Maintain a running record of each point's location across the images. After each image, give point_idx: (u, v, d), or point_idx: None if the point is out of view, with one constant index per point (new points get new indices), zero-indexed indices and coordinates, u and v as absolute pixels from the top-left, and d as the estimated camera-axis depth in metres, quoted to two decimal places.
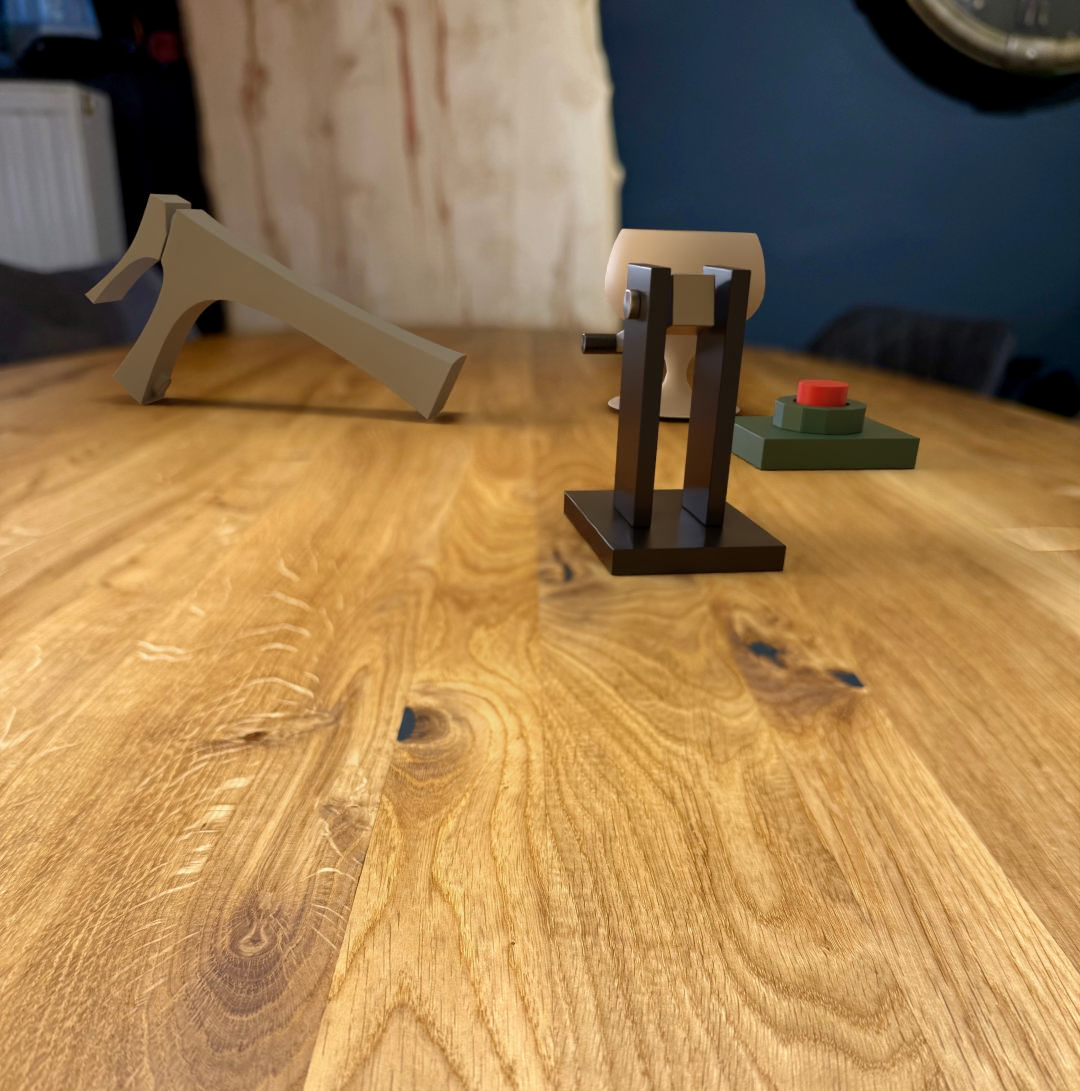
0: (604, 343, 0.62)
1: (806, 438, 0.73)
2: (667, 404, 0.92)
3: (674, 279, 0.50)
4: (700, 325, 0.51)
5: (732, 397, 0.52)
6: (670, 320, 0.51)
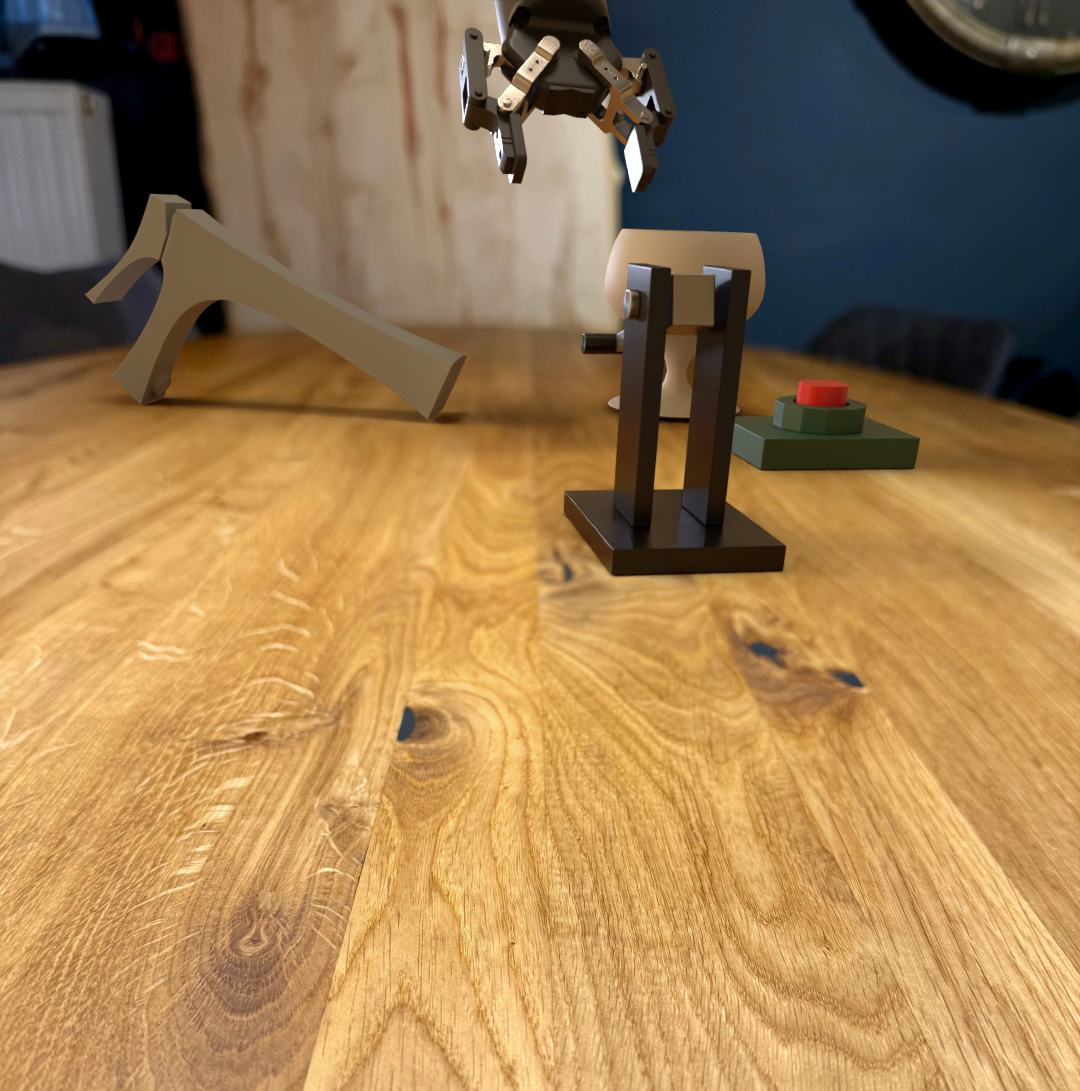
0: (604, 343, 0.62)
1: (806, 438, 0.73)
2: (667, 404, 0.92)
3: (674, 279, 0.50)
4: (700, 325, 0.51)
5: (732, 397, 0.52)
6: (670, 320, 0.51)
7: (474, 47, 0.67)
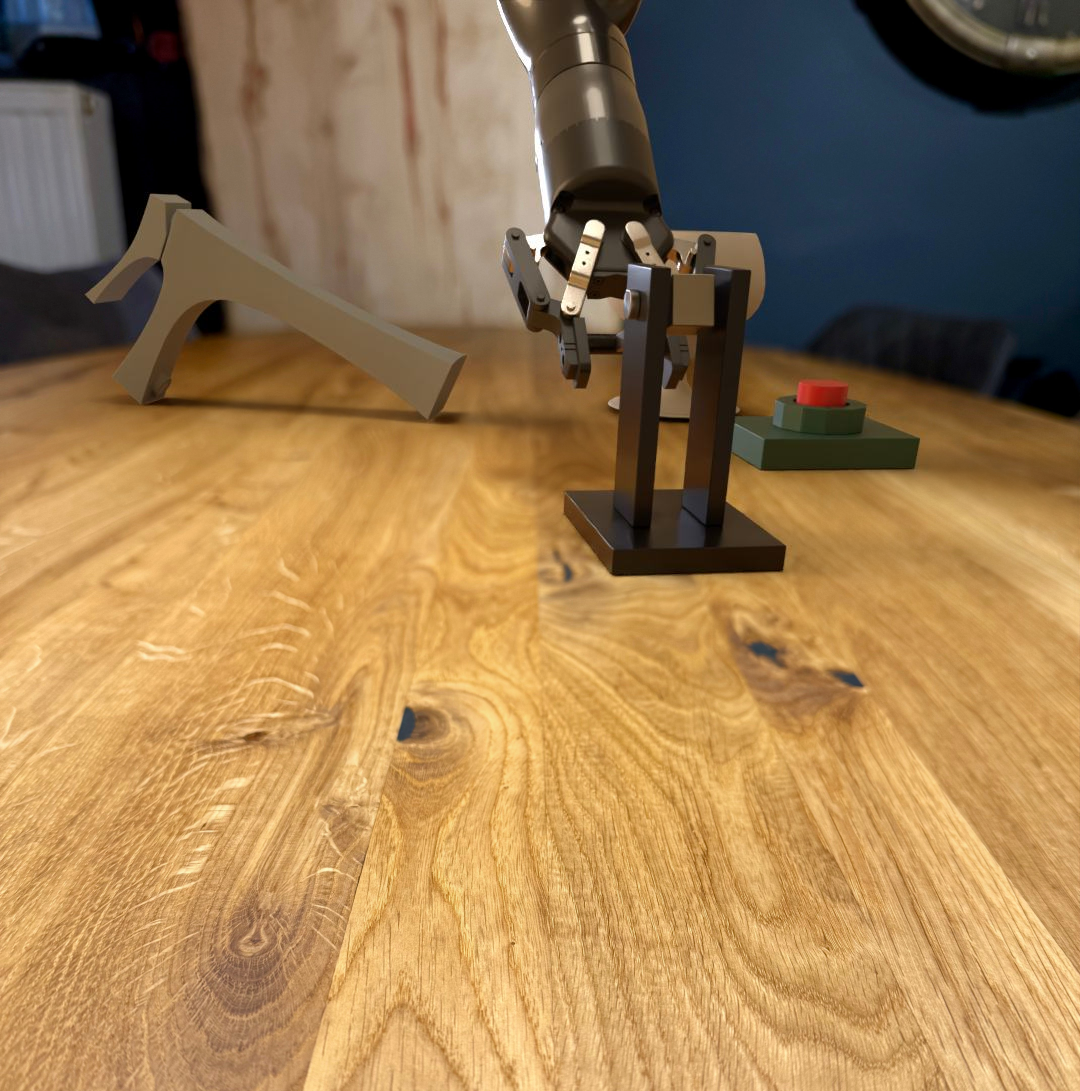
0: (604, 343, 0.62)
1: (806, 438, 0.73)
2: (667, 404, 0.92)
3: (674, 279, 0.50)
4: (700, 325, 0.51)
5: (732, 397, 0.52)
6: (670, 320, 0.51)
7: (520, 248, 0.63)
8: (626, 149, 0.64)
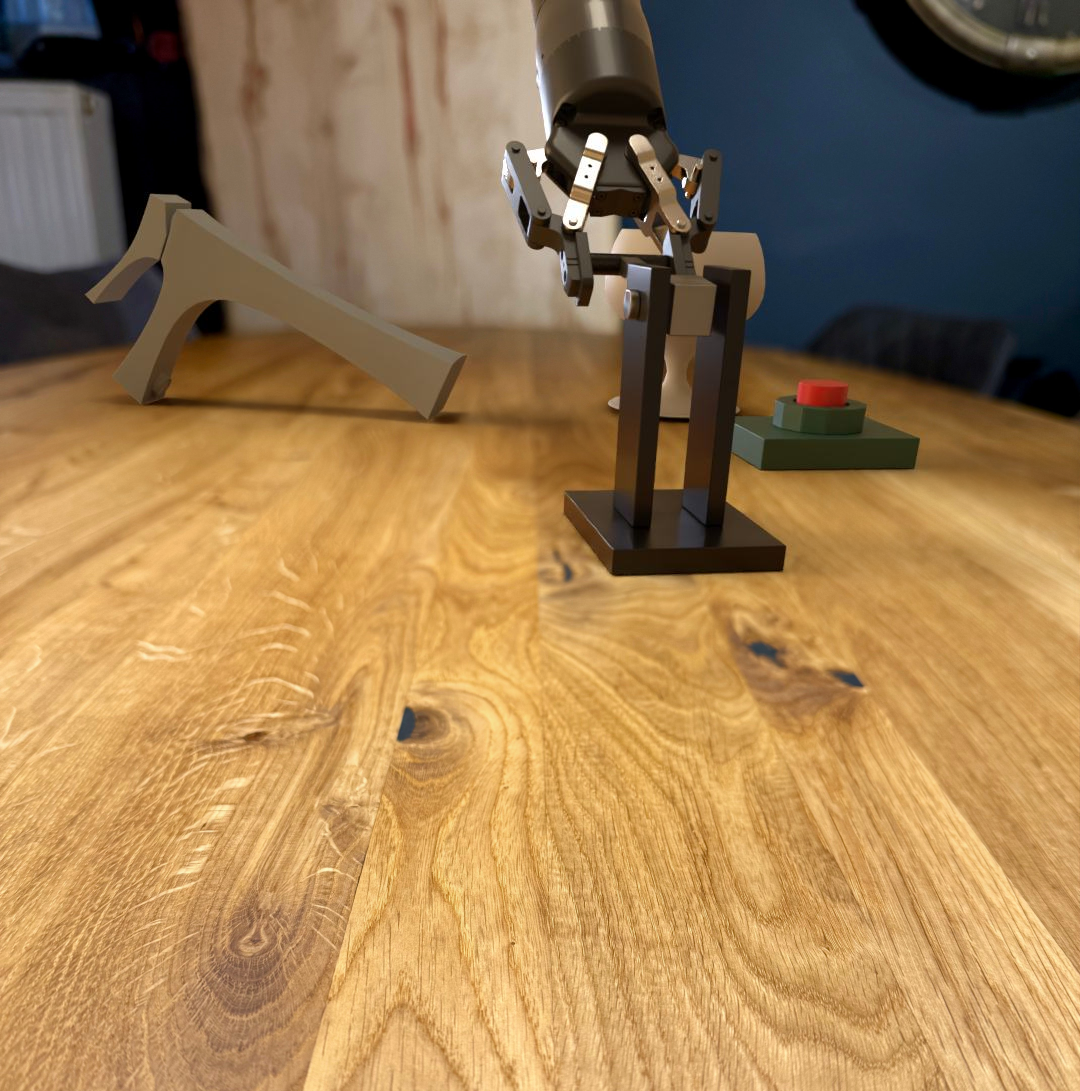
0: (607, 266, 0.61)
1: (806, 438, 0.73)
2: (667, 404, 0.92)
3: (675, 291, 0.50)
4: (696, 335, 0.51)
5: (732, 397, 0.52)
6: (667, 329, 0.51)
7: (521, 162, 0.61)
8: (630, 59, 0.62)
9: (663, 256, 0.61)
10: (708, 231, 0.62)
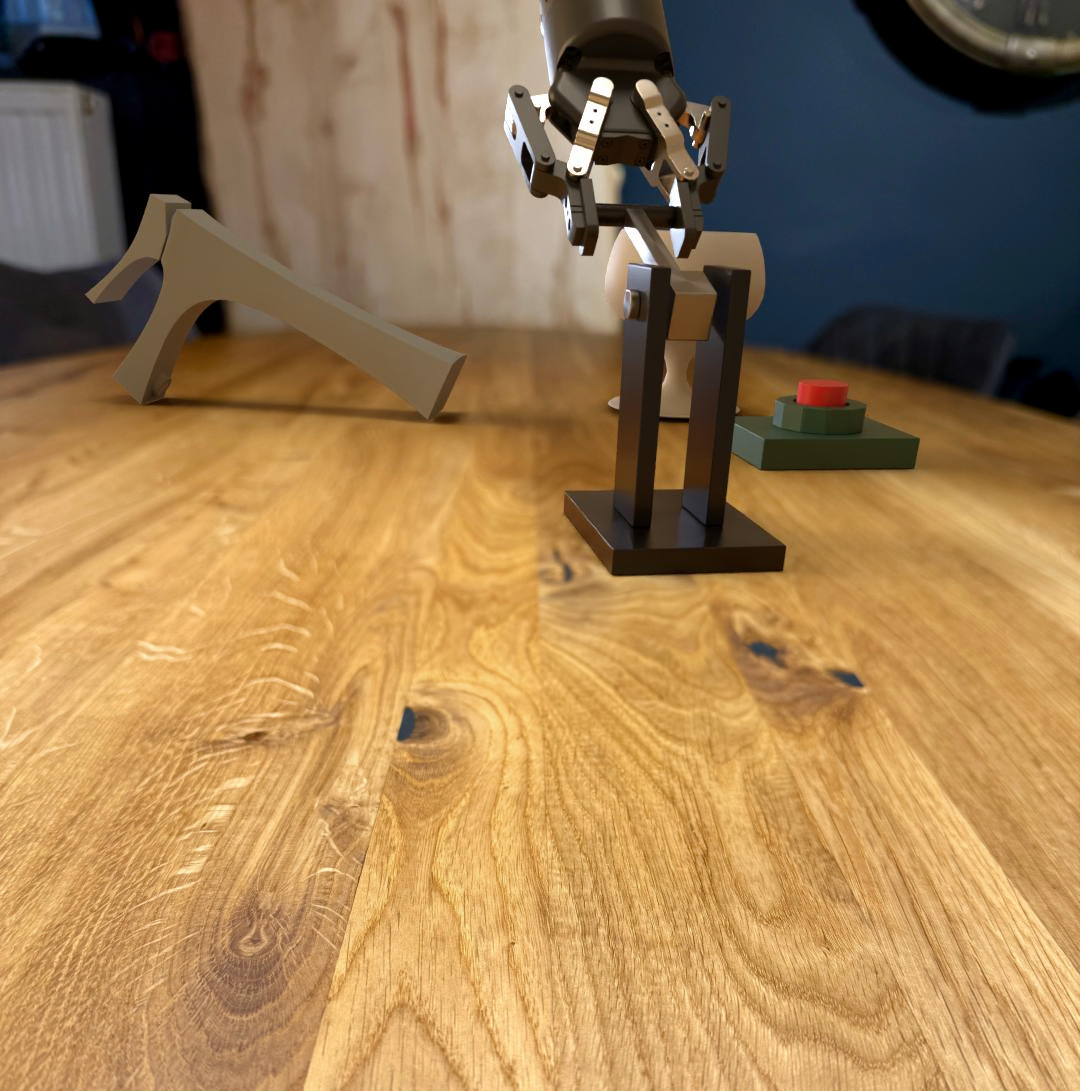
0: (612, 219, 0.59)
1: (806, 438, 0.73)
2: (667, 404, 0.92)
3: (676, 299, 0.50)
4: (694, 340, 0.52)
5: (732, 397, 0.52)
6: (666, 333, 0.51)
7: (524, 106, 0.59)
8: (636, 1, 0.60)
9: (670, 208, 0.60)
10: (716, 179, 0.61)
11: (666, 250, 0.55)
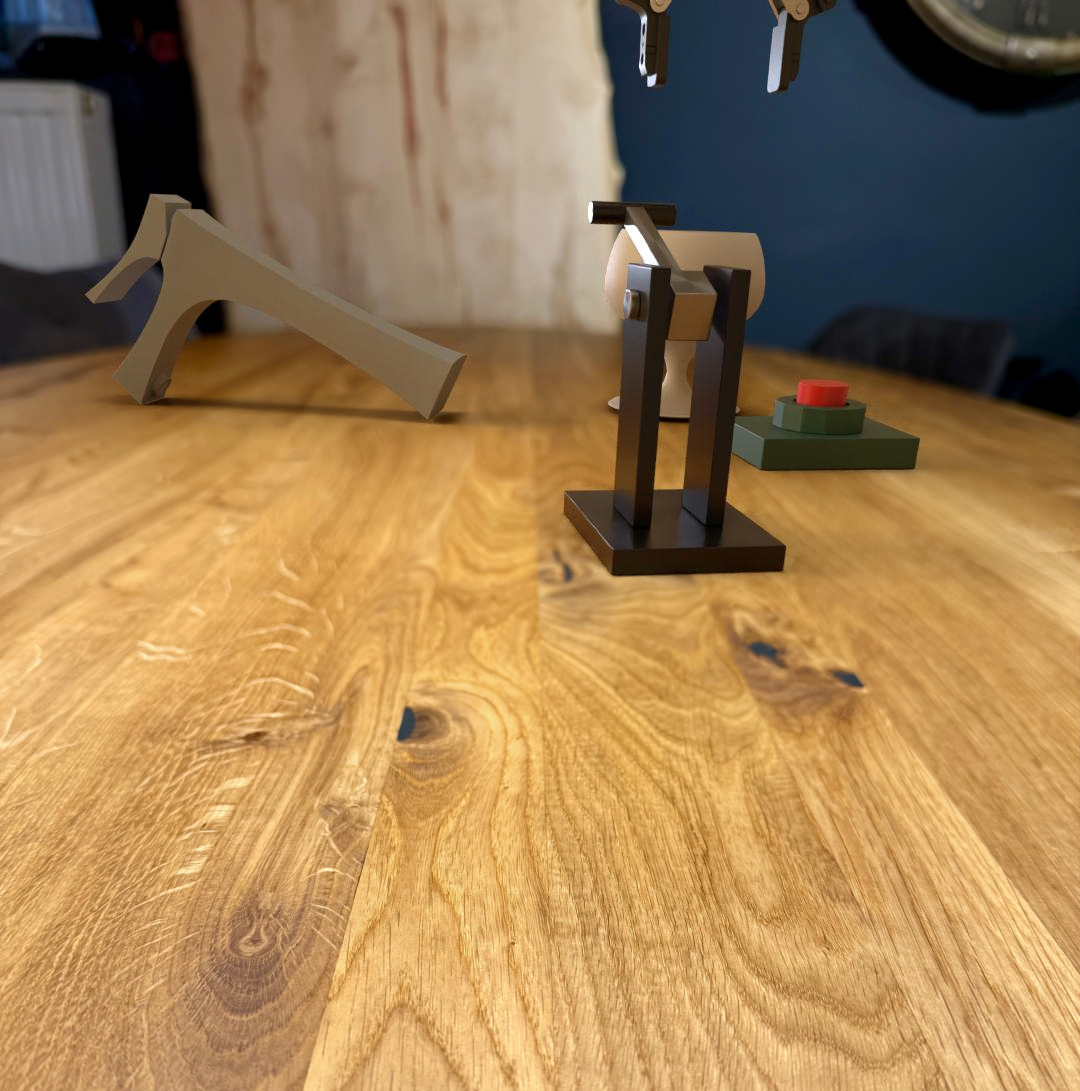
0: (612, 217, 0.59)
1: (806, 438, 0.73)
2: (667, 404, 0.92)
3: (676, 299, 0.50)
4: (694, 340, 0.52)
5: (732, 397, 0.52)
6: None
7: None
8: None
9: (671, 206, 0.60)
10: (826, 10, 0.66)
11: (666, 249, 0.55)
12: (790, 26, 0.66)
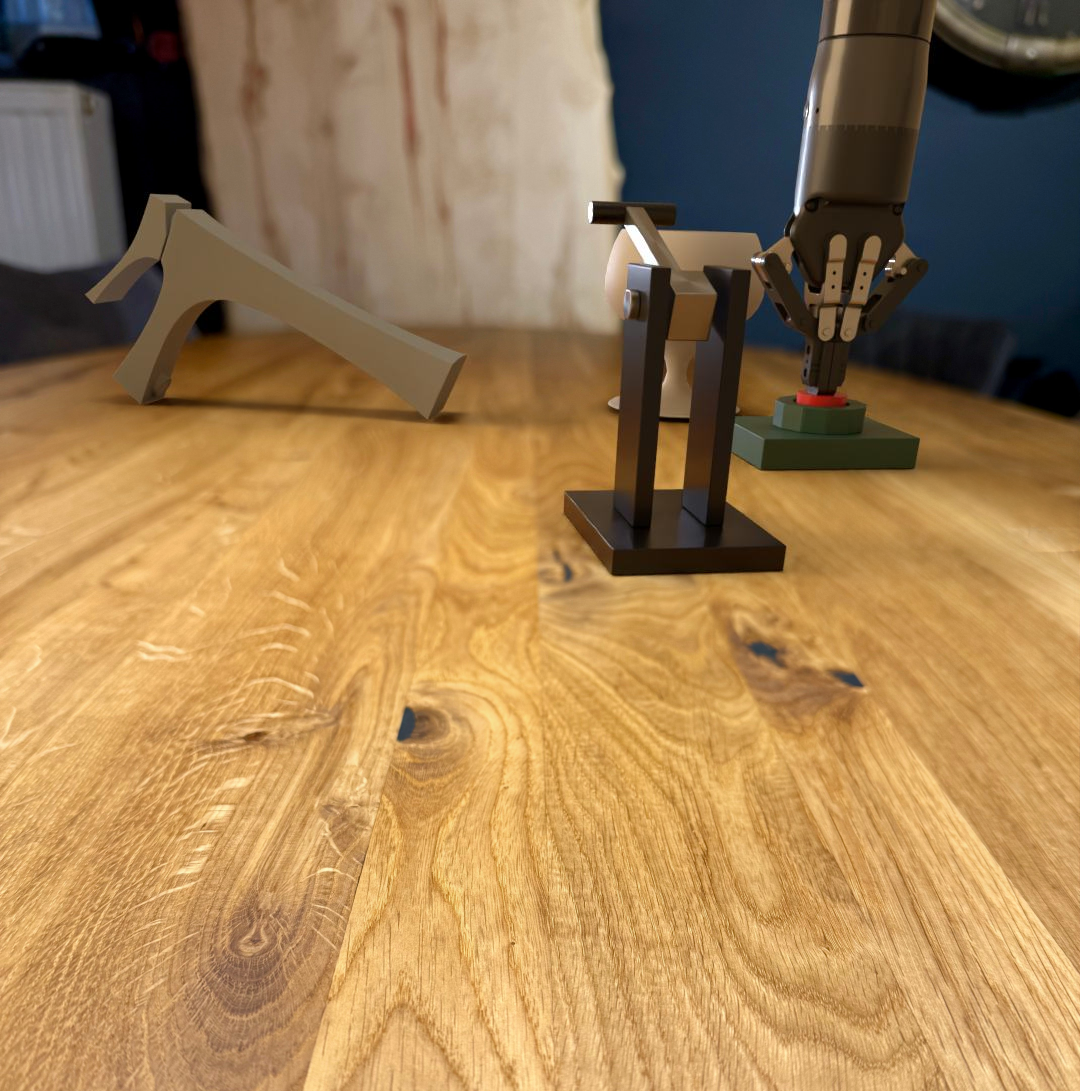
0: (612, 217, 0.59)
1: (806, 438, 0.73)
2: (667, 404, 0.92)
3: (676, 299, 0.50)
4: (694, 340, 0.52)
5: (732, 397, 0.52)
6: None
7: (779, 276, 0.71)
8: (892, 169, 0.67)
9: (671, 206, 0.60)
10: (865, 331, 0.74)
11: (666, 249, 0.55)
12: (839, 345, 0.74)
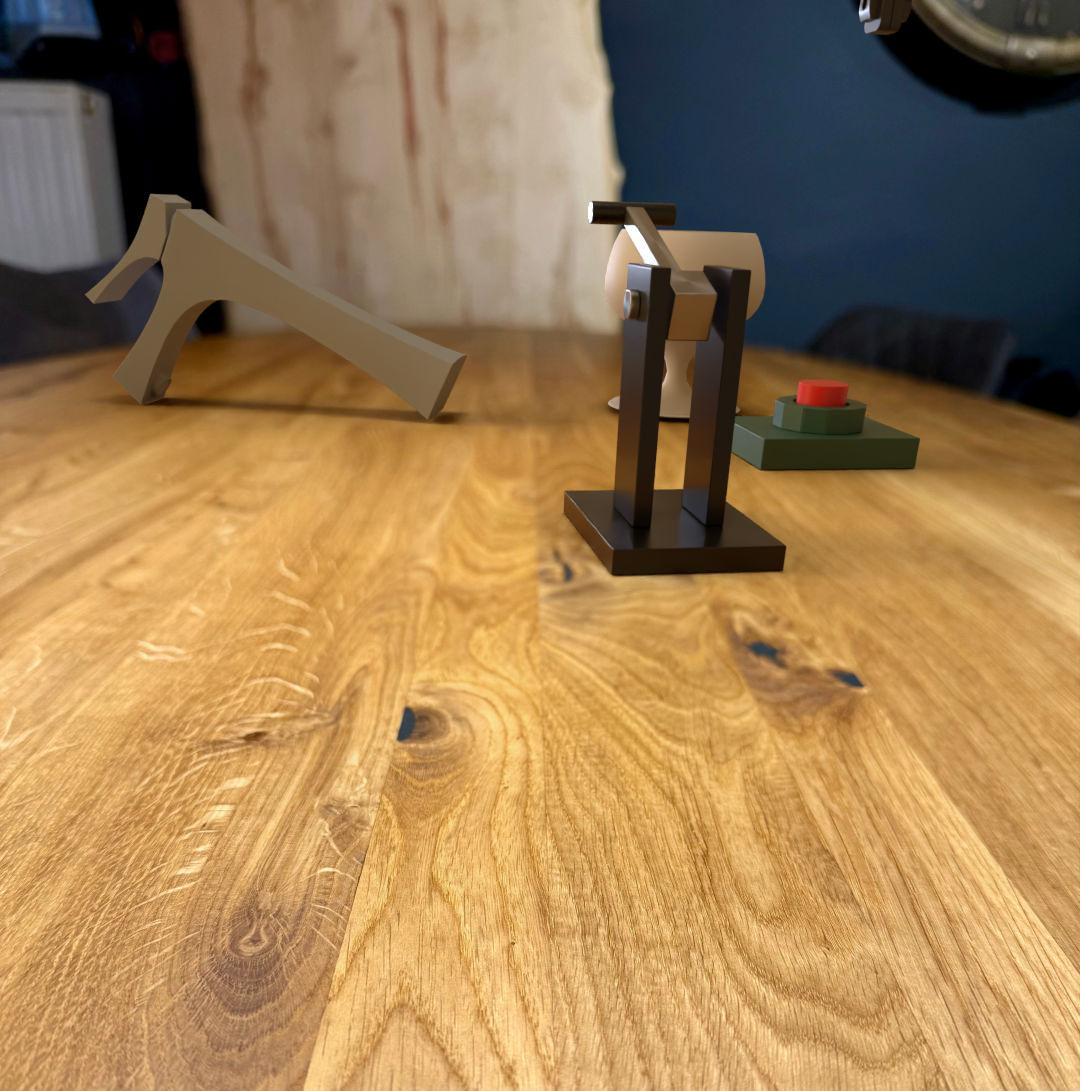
0: (612, 217, 0.59)
1: (806, 438, 0.73)
2: (667, 404, 0.92)
3: (676, 299, 0.50)
4: (694, 340, 0.52)
5: (732, 397, 0.52)
6: None
7: None
8: None
9: (671, 206, 0.60)
10: None
11: (666, 249, 0.55)
12: None
